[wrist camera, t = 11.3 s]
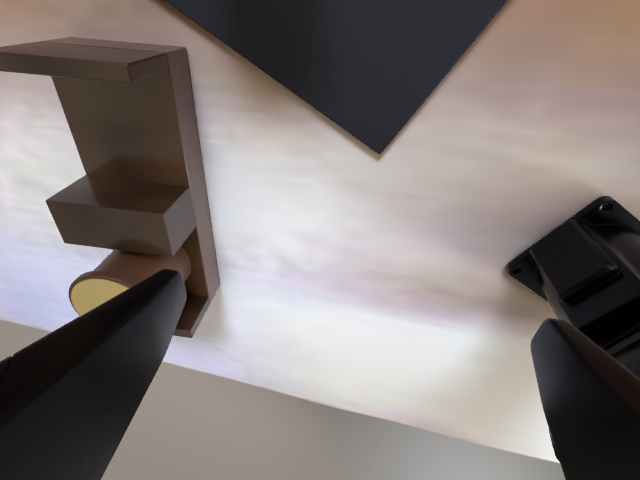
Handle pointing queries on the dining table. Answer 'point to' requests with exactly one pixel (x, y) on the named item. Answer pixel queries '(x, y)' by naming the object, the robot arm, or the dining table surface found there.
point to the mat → (350, 51)
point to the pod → (121, 276)
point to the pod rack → (130, 154)
